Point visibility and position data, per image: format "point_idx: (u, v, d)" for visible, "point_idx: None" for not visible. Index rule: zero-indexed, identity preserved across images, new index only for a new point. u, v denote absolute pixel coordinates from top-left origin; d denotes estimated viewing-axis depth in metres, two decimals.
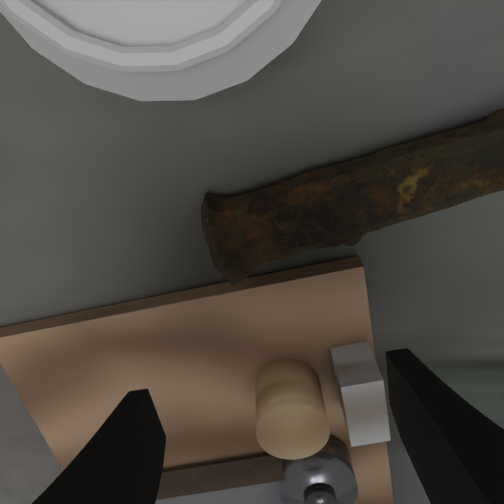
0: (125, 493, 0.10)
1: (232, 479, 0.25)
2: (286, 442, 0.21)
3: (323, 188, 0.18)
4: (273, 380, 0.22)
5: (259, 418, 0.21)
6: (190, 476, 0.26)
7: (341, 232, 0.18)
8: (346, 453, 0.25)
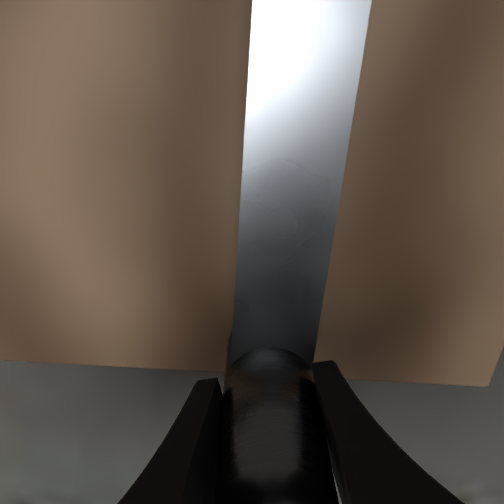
0: (209, 482, 0.10)
1: None
2: None
3: None
4: None
5: None
6: None
7: None
8: None
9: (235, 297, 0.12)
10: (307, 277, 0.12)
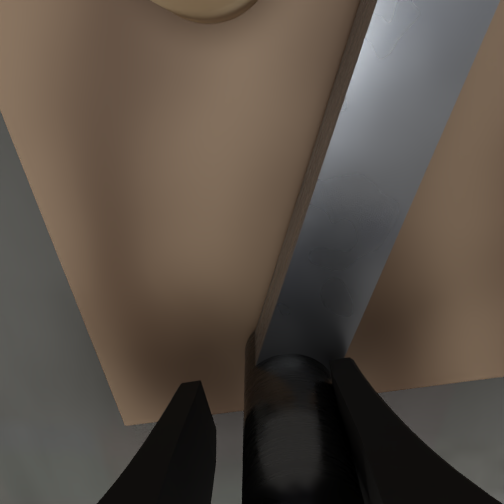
0: (189, 484, 0.10)
1: (349, 67, 0.10)
2: None
3: None
4: None
5: (150, 0, 0.08)
6: (311, 168, 0.12)
7: None
8: None
9: (278, 300, 0.12)
10: (352, 292, 0.12)
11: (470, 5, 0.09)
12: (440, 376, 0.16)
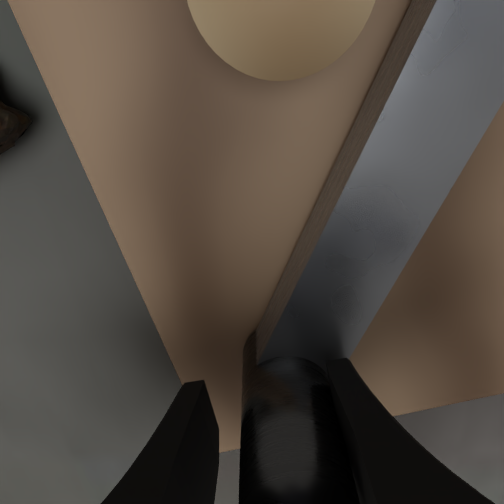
0: (193, 484, 0.10)
1: (389, 80, 0.10)
2: None
3: None
4: None
5: None
6: (336, 174, 0.12)
7: None
8: None
9: (289, 301, 0.12)
10: (362, 301, 0.12)
11: None
12: None
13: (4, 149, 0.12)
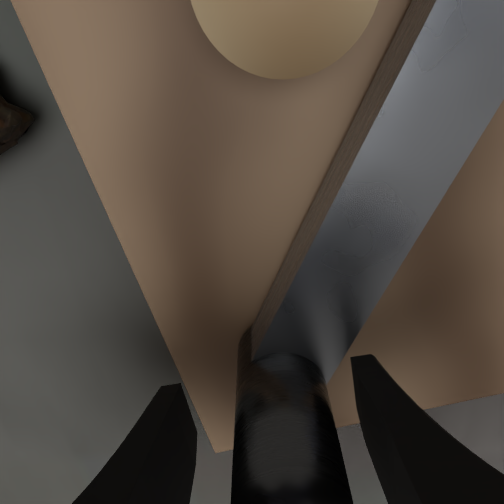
0: (165, 488, 0.10)
1: (389, 76, 0.10)
2: None
3: None
4: None
5: (250, 72, 0.09)
6: (334, 170, 0.12)
7: None
8: None
9: (285, 298, 0.12)
10: (359, 298, 0.12)
11: None
12: None
13: (7, 147, 0.12)
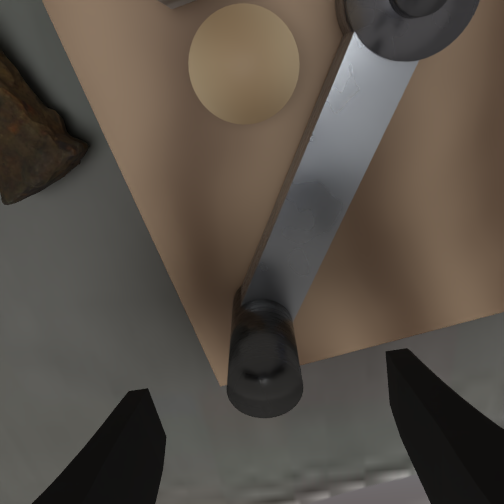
0: (125, 493, 0.10)
1: (317, 115, 0.16)
2: (263, 74, 0.14)
3: None
4: None
5: None
6: (289, 174, 0.18)
7: None
8: None
9: (260, 260, 0.18)
10: (309, 258, 0.18)
11: (388, 88, 0.15)
12: (442, 321, 0.22)
13: (74, 166, 0.18)
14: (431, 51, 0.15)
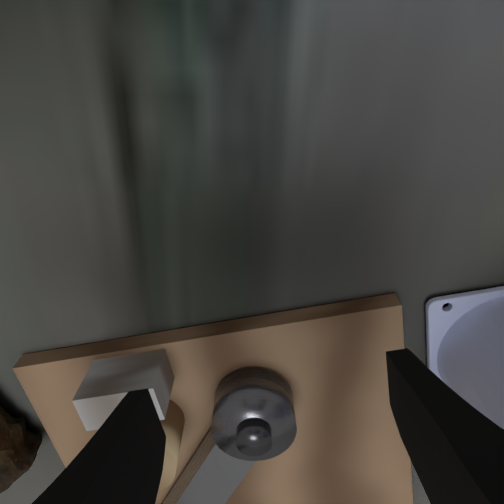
0: (125, 493, 0.10)
1: (195, 467, 0.24)
2: None
3: None
4: None
5: None
6: (178, 485, 0.26)
7: None
8: (256, 375, 0.23)
9: None
10: None
11: (239, 468, 0.23)
12: None
13: None
14: (264, 458, 0.23)
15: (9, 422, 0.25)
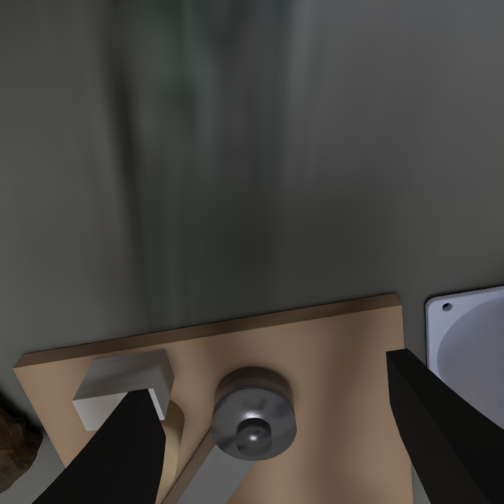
0: (125, 493, 0.10)
1: (195, 467, 0.24)
2: None
3: None
4: None
5: None
6: (178, 485, 0.26)
7: None
8: (256, 375, 0.23)
9: None
10: None
11: (239, 468, 0.23)
12: None
13: None
14: (264, 458, 0.23)
15: (9, 422, 0.25)
